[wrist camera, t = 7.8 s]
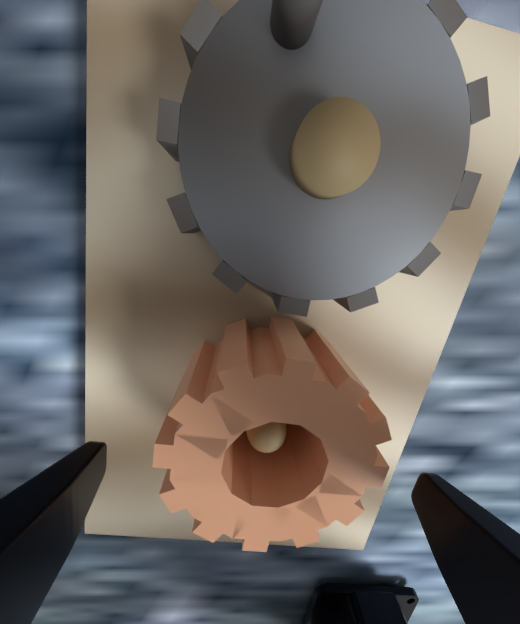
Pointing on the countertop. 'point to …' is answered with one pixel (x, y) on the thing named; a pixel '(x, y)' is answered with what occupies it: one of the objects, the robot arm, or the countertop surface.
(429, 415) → the countertop surface
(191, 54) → the gear board
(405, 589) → the robot arm
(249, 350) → the coral gear
